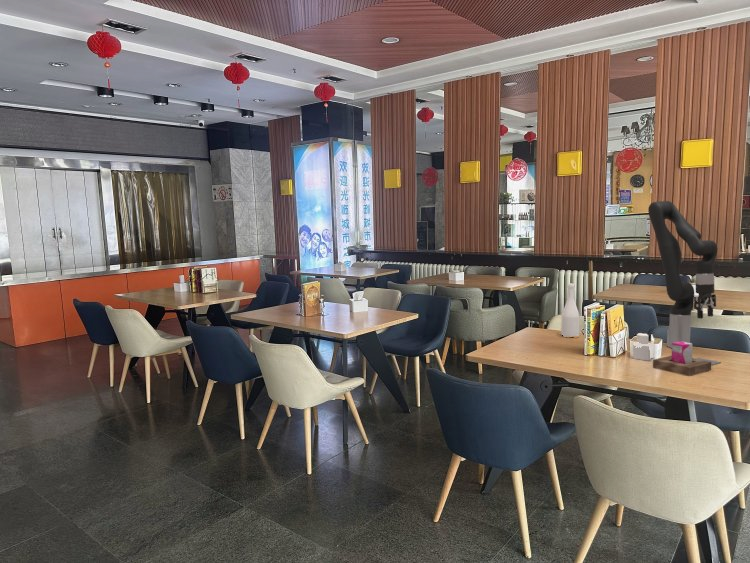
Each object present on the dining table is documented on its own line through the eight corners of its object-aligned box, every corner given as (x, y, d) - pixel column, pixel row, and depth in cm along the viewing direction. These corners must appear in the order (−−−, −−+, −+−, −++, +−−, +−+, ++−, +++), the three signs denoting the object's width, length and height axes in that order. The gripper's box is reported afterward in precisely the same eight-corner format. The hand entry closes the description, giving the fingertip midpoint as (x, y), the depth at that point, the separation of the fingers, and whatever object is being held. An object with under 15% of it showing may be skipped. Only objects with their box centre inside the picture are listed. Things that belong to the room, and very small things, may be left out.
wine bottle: (562, 338, 297) (563, 284, 294) (559, 334, 306) (560, 282, 303) (580, 338, 296) (581, 284, 292) (577, 334, 305) (578, 282, 302)
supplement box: (680, 366, 235) (681, 340, 234) (692, 369, 230) (693, 343, 229) (670, 367, 234) (671, 342, 232) (682, 371, 228) (683, 344, 227)
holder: (652, 367, 235) (653, 359, 234) (674, 362, 242) (674, 354, 242) (689, 376, 221) (689, 367, 220) (711, 370, 229) (711, 362, 228)
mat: (685, 361, 243) (685, 360, 243) (698, 358, 248) (698, 357, 248) (708, 366, 234) (708, 365, 234) (720, 363, 239) (720, 362, 239)
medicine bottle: (638, 355, 256) (638, 331, 254) (654, 358, 250) (654, 333, 249) (632, 358, 251) (633, 333, 249) (648, 361, 246) (649, 335, 244)
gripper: (705, 281, 258) (705, 315, 259) (688, 284, 251) (688, 318, 252) (721, 282, 251) (721, 316, 252) (704, 284, 244) (705, 319, 245)
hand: (705, 317), depth 252 cm, fingers open, 8 cm apart
